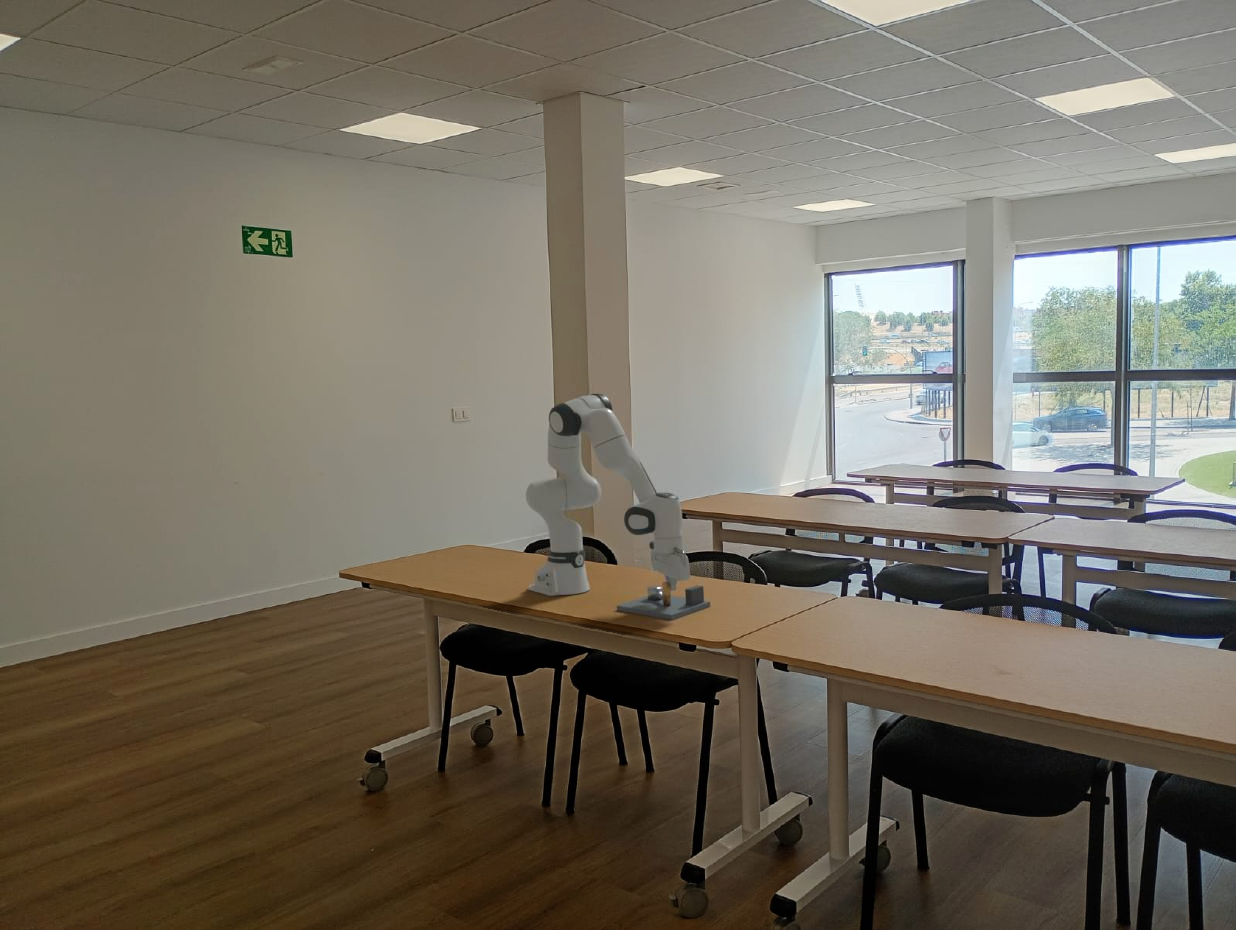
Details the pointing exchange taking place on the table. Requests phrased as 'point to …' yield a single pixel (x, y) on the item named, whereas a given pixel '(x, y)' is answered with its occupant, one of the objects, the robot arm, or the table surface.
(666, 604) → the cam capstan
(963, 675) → the table surface
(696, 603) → the stand
